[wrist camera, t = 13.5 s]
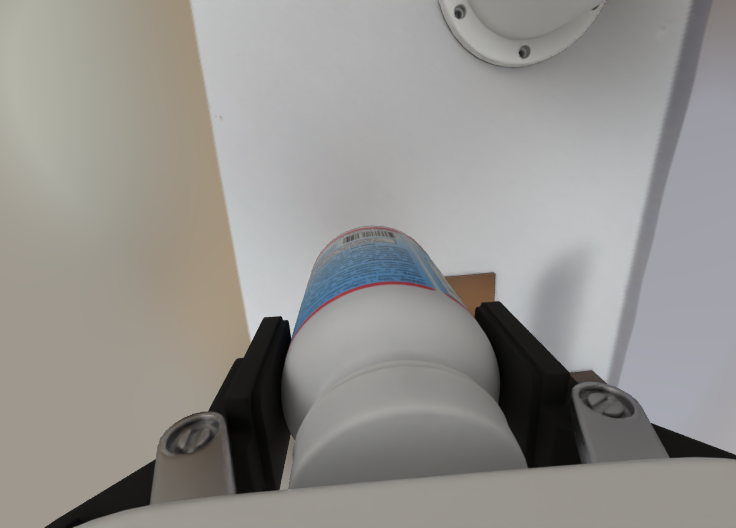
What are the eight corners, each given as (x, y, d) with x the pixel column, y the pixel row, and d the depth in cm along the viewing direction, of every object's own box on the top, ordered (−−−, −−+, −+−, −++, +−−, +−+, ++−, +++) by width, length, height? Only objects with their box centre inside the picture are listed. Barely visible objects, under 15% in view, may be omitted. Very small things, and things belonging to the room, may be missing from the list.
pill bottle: (294, 315, 17) (205, 579, 7) (336, 203, 16) (307, 320, 5) (403, 352, 18) (475, 631, 8) (454, 249, 17) (635, 429, 6)
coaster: (386, 282, 32) (386, 283, 31) (493, 272, 32) (495, 273, 31) (392, 373, 35) (392, 376, 34) (489, 364, 35) (491, 366, 35)
